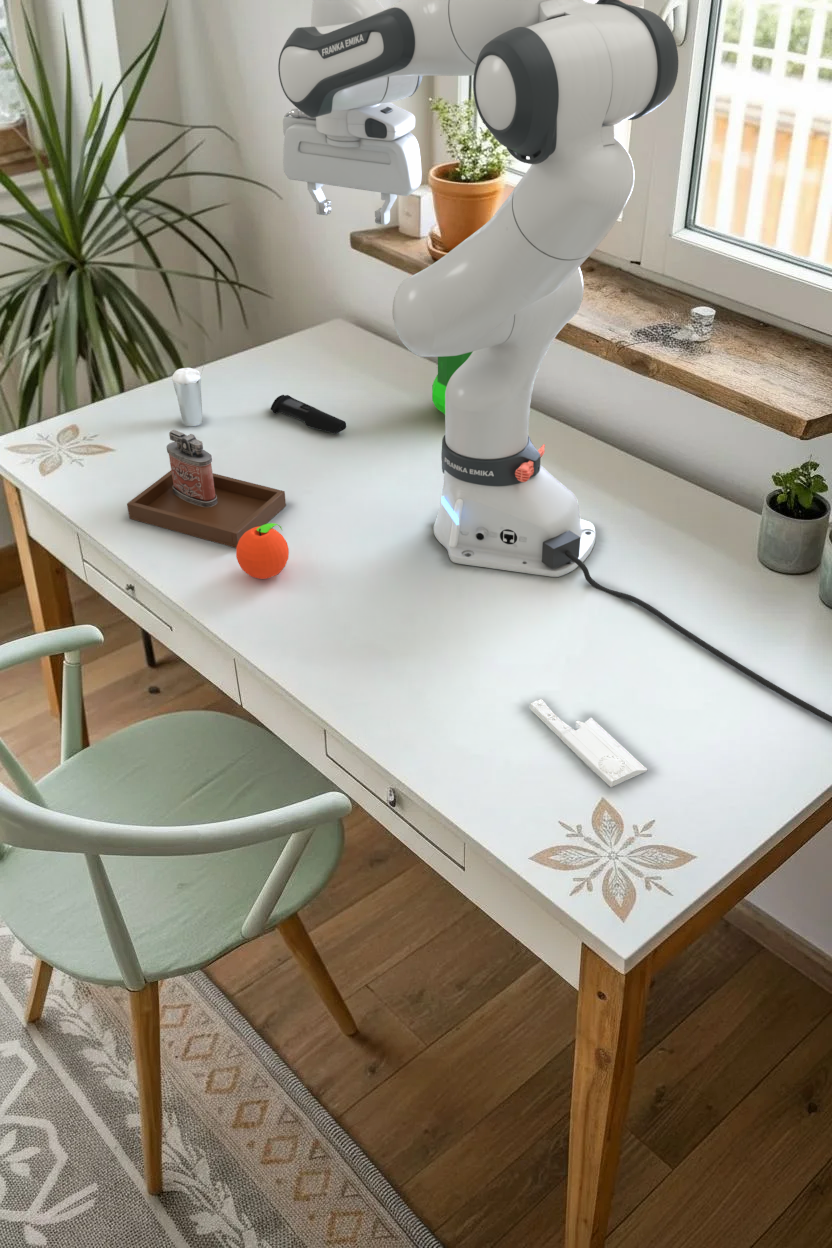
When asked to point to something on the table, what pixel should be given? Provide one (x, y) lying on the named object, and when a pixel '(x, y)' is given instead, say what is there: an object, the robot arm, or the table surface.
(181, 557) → the table surface
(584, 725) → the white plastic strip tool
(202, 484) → the lighter
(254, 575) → the clementine
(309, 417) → the electric trimmer
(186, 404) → the milkshake
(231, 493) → the tray
